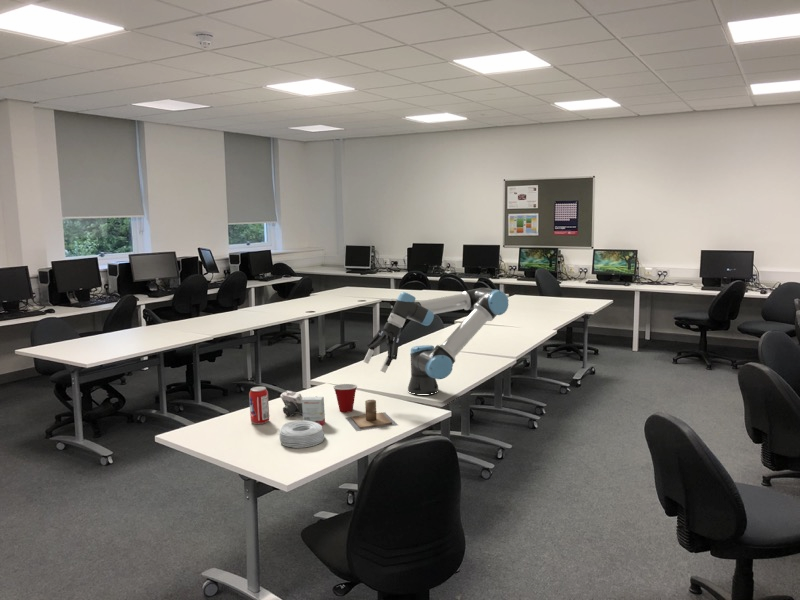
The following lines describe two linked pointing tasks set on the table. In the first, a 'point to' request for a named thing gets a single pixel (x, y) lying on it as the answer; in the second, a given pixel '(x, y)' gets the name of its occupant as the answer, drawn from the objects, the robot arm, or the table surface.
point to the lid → (371, 417)
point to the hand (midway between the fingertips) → (373, 367)
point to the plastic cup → (345, 396)
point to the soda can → (259, 405)
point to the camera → (292, 403)
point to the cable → (301, 434)
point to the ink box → (313, 409)
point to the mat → (370, 427)
